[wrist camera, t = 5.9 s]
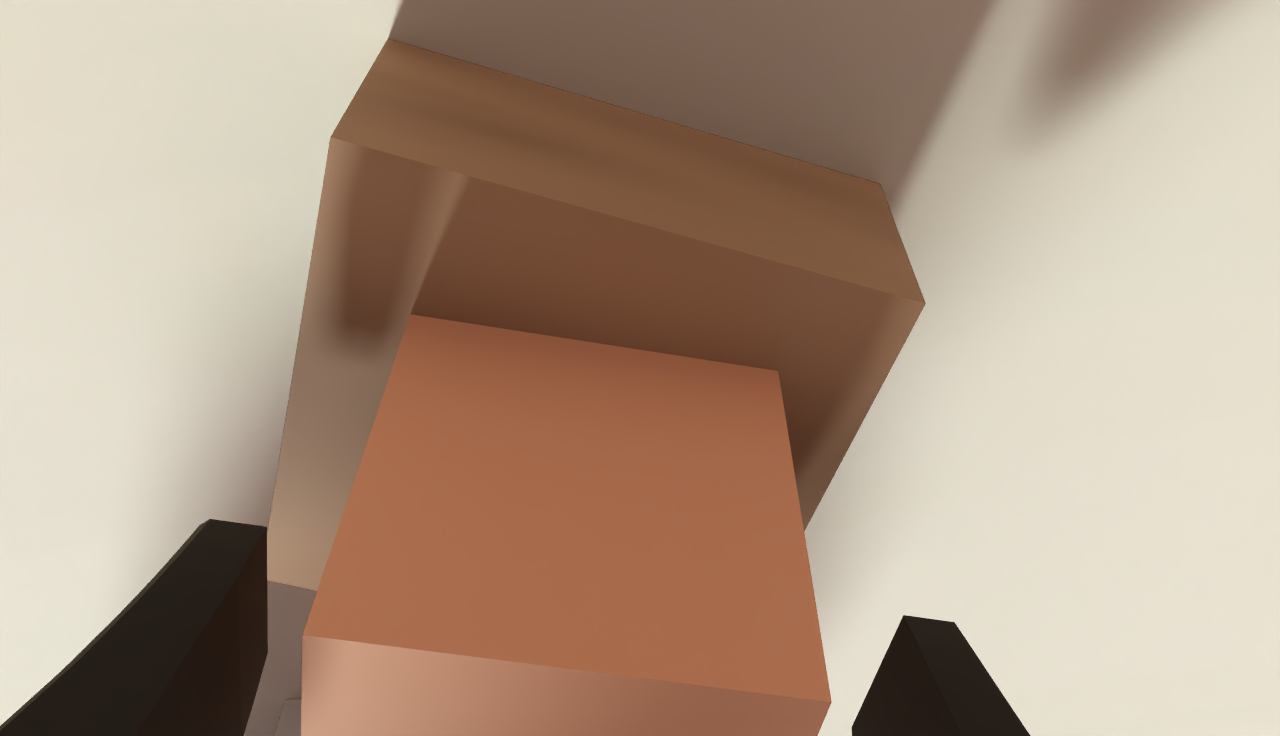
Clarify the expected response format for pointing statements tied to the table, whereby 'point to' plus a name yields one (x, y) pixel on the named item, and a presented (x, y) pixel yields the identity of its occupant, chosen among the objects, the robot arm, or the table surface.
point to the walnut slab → (574, 265)
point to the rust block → (567, 550)
